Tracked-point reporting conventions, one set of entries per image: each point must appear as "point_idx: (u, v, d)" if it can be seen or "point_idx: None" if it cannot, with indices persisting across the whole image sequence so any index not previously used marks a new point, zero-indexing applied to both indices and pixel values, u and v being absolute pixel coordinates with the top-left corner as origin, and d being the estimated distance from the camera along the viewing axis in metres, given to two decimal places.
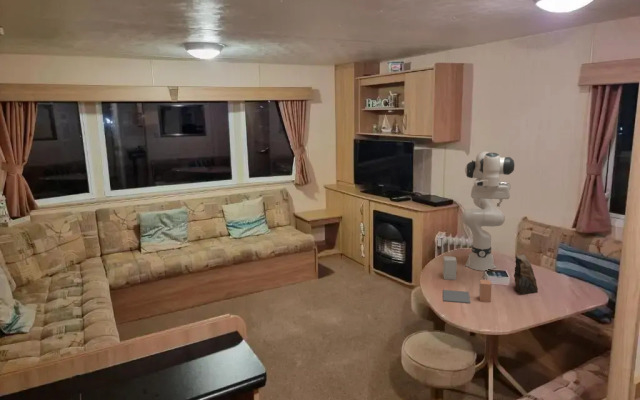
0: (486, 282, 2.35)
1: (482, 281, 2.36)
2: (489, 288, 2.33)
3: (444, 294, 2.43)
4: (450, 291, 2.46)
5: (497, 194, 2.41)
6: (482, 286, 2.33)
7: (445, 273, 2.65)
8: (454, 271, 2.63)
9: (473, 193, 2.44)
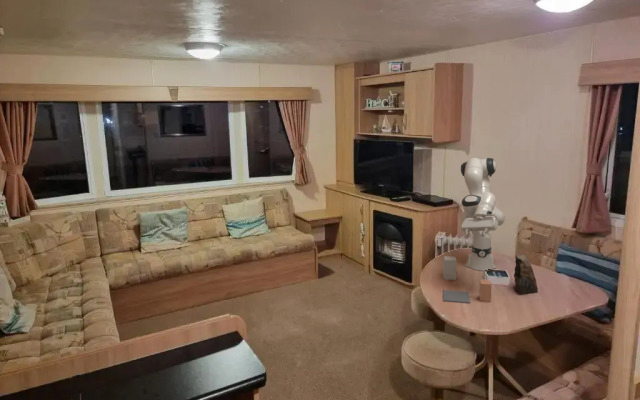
0: (486, 282, 2.35)
1: (482, 281, 2.36)
2: (489, 288, 2.33)
3: (444, 294, 2.43)
4: (450, 291, 2.46)
5: None
6: (482, 286, 2.33)
7: (445, 273, 2.65)
8: (454, 271, 2.63)
9: None
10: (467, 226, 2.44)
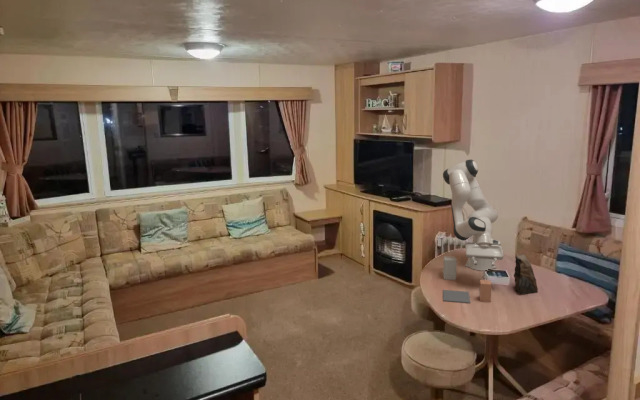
0: (486, 282, 2.35)
1: (482, 281, 2.36)
2: (489, 288, 2.33)
3: (444, 294, 2.43)
4: (450, 291, 2.46)
5: None
6: (482, 286, 2.33)
7: (445, 273, 2.65)
8: (454, 271, 2.63)
9: None
10: (473, 254, 2.47)
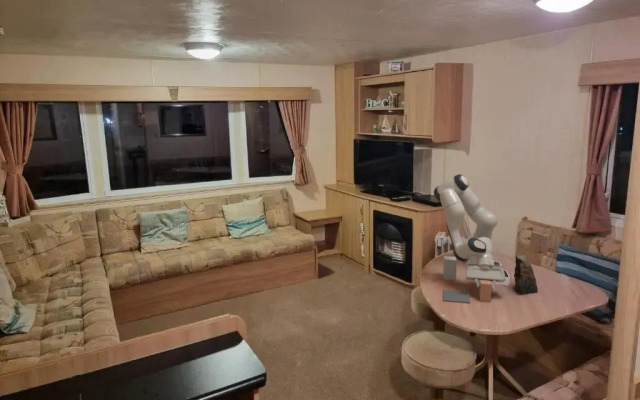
0: (486, 282, 2.35)
1: (482, 281, 2.36)
2: (489, 288, 2.33)
3: (444, 294, 2.43)
4: (450, 291, 2.46)
5: None
6: (482, 286, 2.33)
7: (445, 273, 2.65)
8: (454, 271, 2.63)
9: None
10: (474, 276, 2.39)
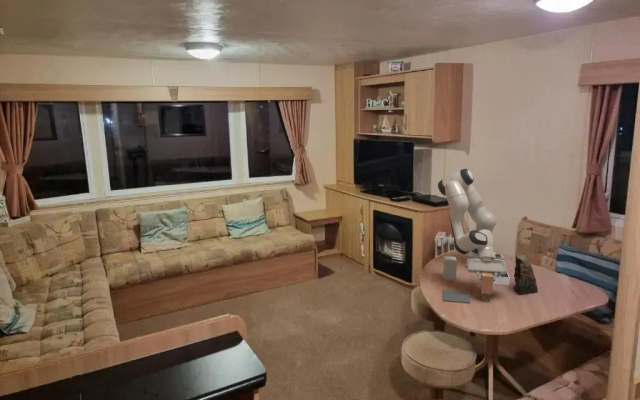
0: (488, 275, 2.34)
1: (484, 273, 2.35)
2: (491, 281, 2.32)
3: (444, 294, 2.43)
4: (450, 291, 2.46)
5: None
6: (484, 278, 2.32)
7: (445, 273, 2.65)
8: (454, 271, 2.63)
9: None
10: (476, 268, 2.38)
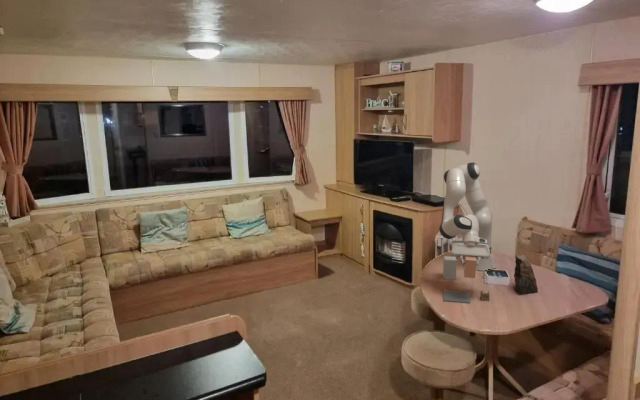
0: (471, 258, 2.34)
1: (467, 257, 2.35)
2: (474, 264, 2.32)
3: (444, 294, 2.43)
4: (450, 291, 2.46)
5: None
6: (467, 262, 2.33)
7: (445, 273, 2.65)
8: (454, 271, 2.63)
9: None
10: (459, 252, 2.39)
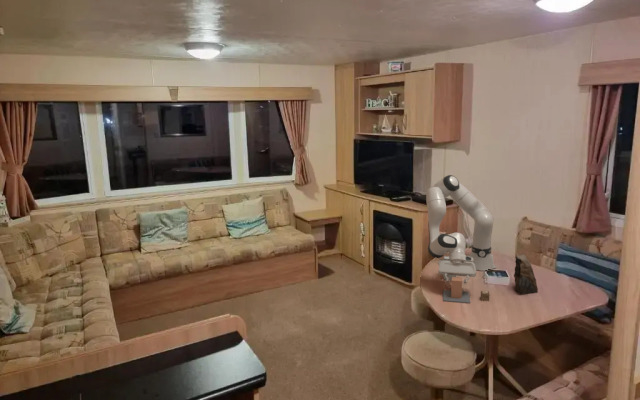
0: (457, 279, 2.38)
1: (454, 278, 2.40)
2: (460, 285, 2.36)
3: (444, 294, 2.43)
4: (450, 291, 2.46)
5: None
6: (453, 283, 2.37)
7: None
8: None
9: None
10: (446, 271, 2.43)
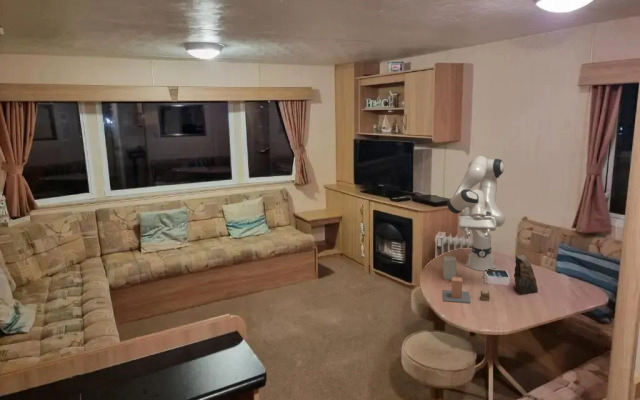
0: (457, 279, 2.38)
1: (454, 278, 2.40)
2: (460, 285, 2.36)
3: (444, 294, 2.43)
4: (450, 291, 2.46)
5: None
6: (453, 283, 2.37)
7: (445, 273, 2.65)
8: (454, 271, 2.63)
9: None
10: (467, 225, 2.49)
